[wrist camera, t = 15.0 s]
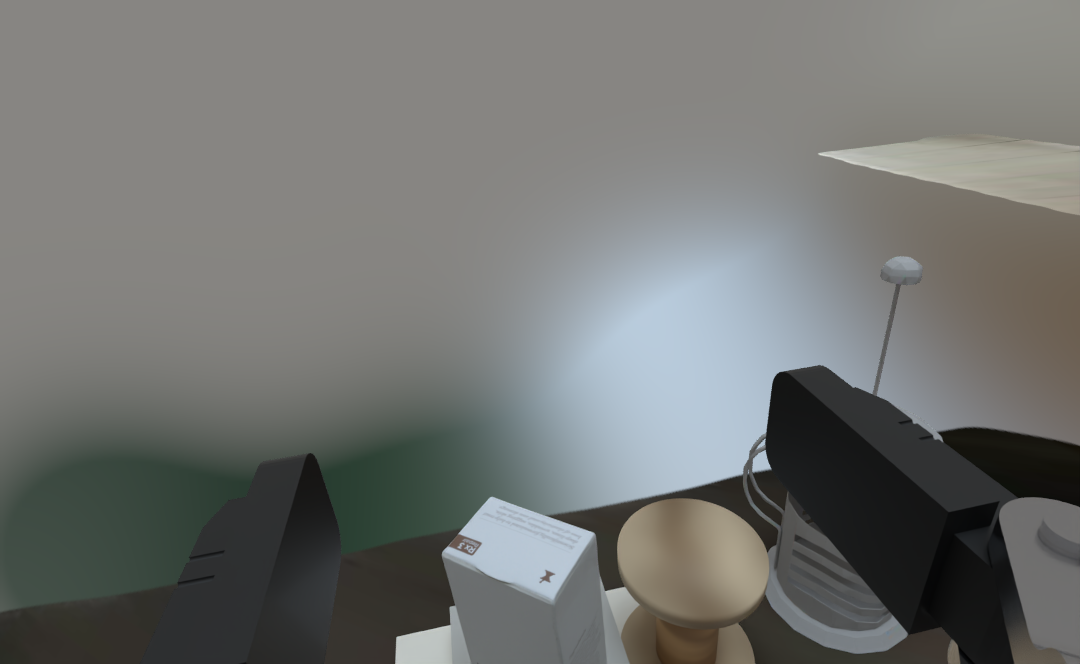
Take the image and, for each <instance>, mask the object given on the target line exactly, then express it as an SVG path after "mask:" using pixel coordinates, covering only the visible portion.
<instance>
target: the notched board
mask: <svg viewBox="0 0 1080 664" xmlns="http://www.w3.org/2000/svg"><path fill="white" fill-rule="evenodd" d="M599 577H600V575H599ZM600 588H601V600H602V612H603V623H604V634H605V645H606V656H607V664H630V663H629V660H628V657H627V654H626V652H625V649H624V646H623V643H622V640H621V633H622V630H623V627H624V624H625V622H626V620H627V619H628V617H629V616H630V614H631V613H632V612H633V611H634V610H635V609H636V608H637V607H638V606H639V604H638V603H637V602H636V601H635V600H634V598H633V597H632V596H631V595H630V594H629V592H628V591H627V589H626V587H623V588H618V589H614V590H609V591H605V590H604V587H603V584H602V581H601V578H600ZM450 623H451V625H449V626H445V627H440V628H436V629H431V630H426V631H422V632H417V633H413V634H408V635H404V636H399V637H397V640H396V663H395V664H471V661H470V657H469V654H468V650H467V646H466V642H465V639H464V635H463V631H462V628H461V624H460V620H459V617H458V613H457V609H456V606H453V607H450Z"/></svg>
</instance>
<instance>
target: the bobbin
mask: <svg viewBox="0 0 1080 664" xmlns="http://www.w3.org/2000/svg"><path fill="white" fill-rule="evenodd" d="M617 552H618V568H619V573H620V576H621V579H622V581H623V584H624V586H625V587H626V589H627V591H628V592H629V594H630V595H631V596H632V597H633V598H634V600H635V601H636V602H637V603H638V604H639V606H638V607H637V608H636V609H635V610H634V611H633V612H632V613H631V614H630V616H629V617H628V619H627V620H626V622H625V624H624V627H623V630H622V633H621V640H622V643H623V646H624V649H625V652H626V654H627V657H628V660H629V663H630V664H755V659H754V654H753V650H752V647H751V644H750V642H749V640H748V638H747V635H746V634H745V632H744V631H743V629H742V628H741V626H740V625H739V624H738V622H740V621H742V620H744V619H745V618H747V617H748V616H750V615H751V614H752V613H753V612H754V611H755V610H756V609H757V608H758V606H759V605H760V604H761V602H762V600H763V598H764V596H765V592H766V589H767V583H768V576H769V558H768V554H767V551H766V548H765V546H764V544H763V542H762V540H761V539H760V537H759V535H758V534H757V533H756V532H755V530H754V529H753V528H752V527H751V526H750V525H749V524H748V523H747V522H745V521H744V520H743V519H742V518H740V517H739V516H737V515H736V514H734V513H733V512H731V511H729V510H727V509H725V508H723V507H720V506H718V505H715V504H712V503H709V502H705V501H701V500H695V499H681V498H680V499H668V500H662V501H658V502H655V503H652V504H650V505H647V506H645V507H643V508H641V509H640V510H638V511H637V512H636V513H634V514H633V515H632V516H631V517H630V518H629V519H628V520H627V522H626V523H625V524H624V526H623V528H622V530H621V532H620V535H619V539H618V548H617Z"/></svg>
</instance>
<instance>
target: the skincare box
mask: <svg viewBox="0 0 1080 664" xmlns="http://www.w3.org/2000/svg"><path fill="white" fill-rule="evenodd" d="M442 558H443V562H444V565H445V569H446V572H447V576H448V580H449V584H450V587H451V591H452V594H453V598H454V602H455V606H456V609H457V613H458V617H459V620H460V624H461V628H462V631H463V635H464V639H465V642H466V646H467V650H468V654H469V657H470V661H471V664H607V656H606V645H605V634H604V623H603V612H602V600H601V588H600V577H599V568H598V555H597V543H596V536H595V533H593V532H590V531H587V530H584V529H581V528H578V527H575V526H572V525H570V524H567V523H564V522H561V521H558V520H555V519H553V518H550V517H547V516H544V515H541V514H538V513H536V512H533V511H530V510H527V509H524V508H521V507H519V506H516V505H513V504H510V503H508V502H505V501H502V500H499V499H497V498H494V497H490V498H489V499H488V500H487V502H486V503H485V504H484V505H483V506H482V507H481V508H480V509H479V511H478V512H477V513H476V514H475V515H474V516H473V518H472V519H471V520H470V521H469V522H468V523H467V525H466V526H465V527H464V528H463V529H462V530H461V532H460V533H459V534H458V535H457V536H456V538H455V539H454V540H453V541H452V542H451V543H450V545H449V546H448V547H447V548H446V549H445V550H444V551H443V552H442Z"/></svg>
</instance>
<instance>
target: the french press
mask: <svg viewBox="0 0 1080 664" xmlns="http://www.w3.org/2000/svg"><path fill="white" fill-rule="evenodd" d="M922 269H923V267H922V266H921V265H920V264H919V263H918V262H917V261H915V260H913V259H912V258H910V257H899V256H898V257H895V258H893V259H891V260H889V261H887V263H886V264H885V265H884V267H883V268H882V270H881V278H882V279H883V280H884V281H887V282H890V283H894V284H896V289H895V293H894V297H893V302H892V307H891V311H890V316H889V321H888V325H887V330H886V335H885V339H884V344H883V349H882V354H881V358H880V362H879V367H878V372H877V376H876V381H875V386H874V390H873V395H875V396H877V391H878V386H879V382H880V377H881V373H882V368H883V364H884V358H885V354H886V350H887V345H888V340H889V336H890V331H891V327H892V322H893V318H894V313H895V308H896V304H897V299H898V294H899V290H900V286H901V285H912V284H917V283H919V282H920V281H921V278H922ZM892 405H893V404H892ZM894 406H895V405H894ZM895 407H896V408H898V409H899V410H900V411H902V412H903V413H904V414H906V415H907V416H908V417H910V418H911V419H912V421H913V423H914V424H916V423H918V424H919V425H921V426H922V427H923V428H925V429H926V430H927V431H929V432H930V433H931V434H933V437H934V439H935V440H936V439H939V440H941V441H942V442H943V440H942V438H941V436H940V435H939V434H938V433H937V432H936V431H935V430H934V429H932V428H931V427H930V426H929V425H928V424H927V423H926V422H925V421H924V420H922V419H921V418H919V417H917V416H916V415H914V414H913V413H911V412H909V411H906V410H904V409H902V408H900V407H897V406H895ZM765 438H766V433H765V434H763V435H762V436H761V437H760V438H759V439H758V440H757V442H755V444H754V445H753V447H752V449H751V450H750V454H749V460H748V461H747V463H746V464H745V466H744V471H743V486H744V491H745V494H746V496H747V499H748V501H749V503H750V505H751V506H752V507H753V508H754V509H755V510H756V512H757V513H758V514H759V515H760V516H761V517H763V518H764V519H765V520H767V521H768V522H769V523H771V524H772V525H773V526H775V527H776V528H777V529H778V538H777V545H775V546H773V547H772V548H771V549H770V550H769V552H768V553H767V554H768V558H769V576H768V583H767V589H766V592H765V595H766V597H767V599H768V601H769V603H770V605H771V607H772V608H773V609H774V610H775V611H776V612H777V613H778V614H779V615H780V616H781V617H782V618H783V619H784V620H785V621H786V622H787V623H788V624H789V625H790V626H791V627H792V628H793V629H794V630H796V631H797V632H799V633H801V634H803V635H804V636H806V637H808V638H810V639H812V640H813V641H815V642H817V643H819V644H821V645H822V646H825V647H829V648H833V649H838V650H842V651H846V652H850V653H854V654H861V653H871V652H880V651H887V650H888V649H890V648H891V647H893V646H894V645H896V644H897V643H899V642H900V641H901V640H903V639H904V638H906V636H907V632H906V631H905V629H904V628H903V627H902V626H901V625H900V623H899V622H898V621H897V620H896V619H895V618H894V616H893V615H892V614H891V613H890V612H889V610H888V609H887V608H886V607H885V606H884V604H883V603H882V602H881V601H880V600H879V598H878V597H877V596H876V595H875V594H874V593H873V591H872V590H871V589H870V588H869V587H868V585H867V584H866V583H865V582H864V581H863V579H862V578H861V577H860V576H859V575H858V573H857V572H856V571H855V570H854V569H853V567H852V566H851V565H850V564H849V563H848V562H847V560H846V559H845V558H844V557H843V556H842V554H841V553H840V552H839V551H838V550H837V548H836V547H835V546H834V545H833V544H832V542H831V541H830V540H829V539H828V538H827V537H826V535H825V534H824V533H823V532H822V531H821V529H820V528H819V527H818V526H817V525H816V523H810V524H807V523H806V522H805V521H807V520H809V519H811V517H810V516H809V515H808V514H805V515H803V516H802V514H803V511H804V509H803V508H802V507H801V506H800V504H799V503H798V502H797V501H796V500H795V498H794V497H793V496H792V495H791V494H790V492H789V493H787V500H786V507H785V511H784V510H782V509H781V508H780V507H779V506H777V505H776V504H775V503H773V502H772V501H771V500H770V499H768V498H767V497H766V496H765V495H764V494H763V493H762V492H761V491H760V489H759V488H758V486H757V484H756V482H755V479H754V477H753V472H752V464H753V458H754V457H755V456H756V455H757V454H758V453H760V452H762V451H764V450H765V449H766V447H765V445H764V446H762V447H761V448H759V449H757V450H756V448H757V446H758V445H759V444H760V443H761V442H762V441H763V440H764V439H765ZM755 450H756V451H755ZM748 470H749V474H750V478H751V481H752V483H753V486H754V488H755V490H756V491H757V492H758V493H759V495H760V496H761V497H762V498H763V499H764V500H765V501H766V502H768V503H769V504H770V505H772V506H773V507H775V508H776V509H778V510H779V511H780V512H781V513H782V523H781V527H780V526H779V525H778V524H776V523H775V522H774V521H772V520H771V519H770V518H768V517H767V516H766V515H765V514H763V513H762V512H761V511H760V510H759V509H758V508H757V507H756V506H755V505H754V504H753V501H752V499H751V497H750V495H749V492H748V487H747V482H746V480H747V473H748Z"/></svg>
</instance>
